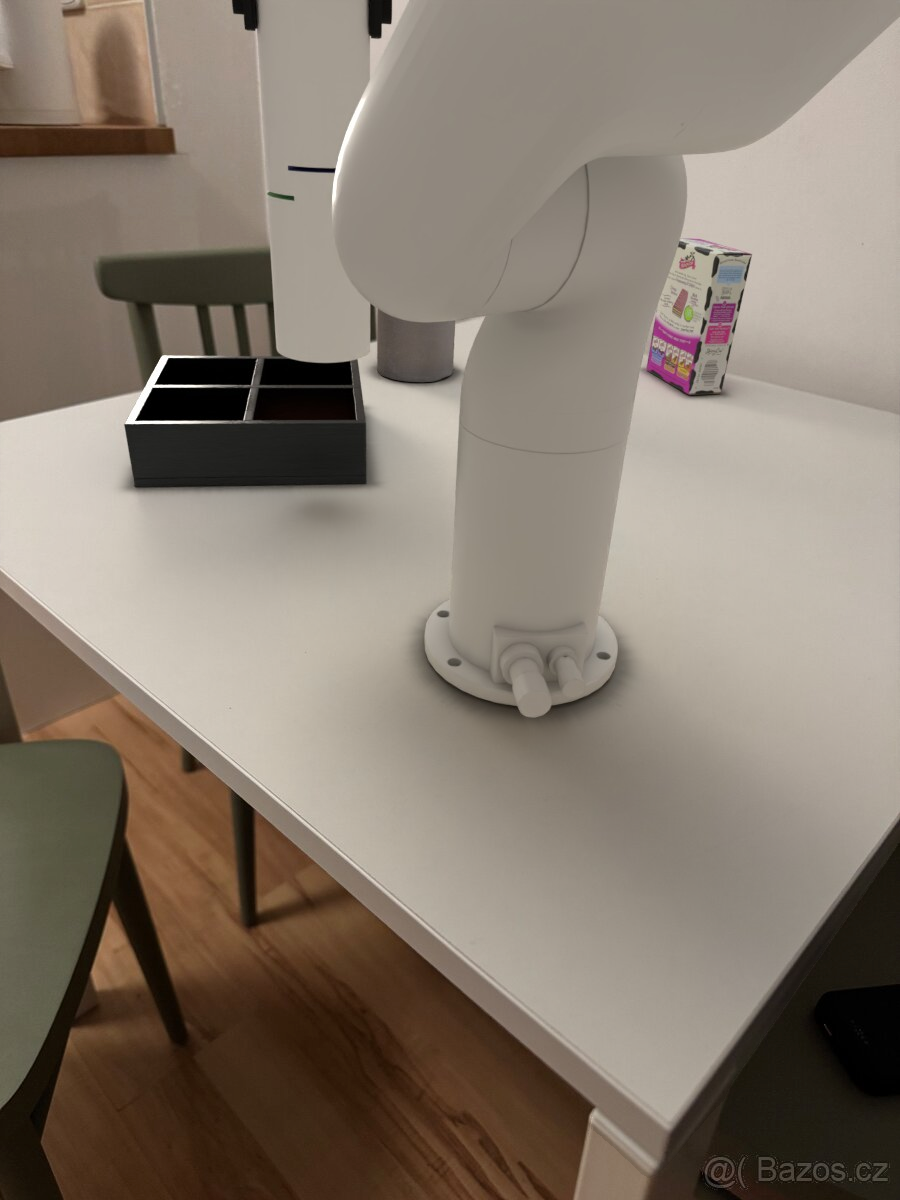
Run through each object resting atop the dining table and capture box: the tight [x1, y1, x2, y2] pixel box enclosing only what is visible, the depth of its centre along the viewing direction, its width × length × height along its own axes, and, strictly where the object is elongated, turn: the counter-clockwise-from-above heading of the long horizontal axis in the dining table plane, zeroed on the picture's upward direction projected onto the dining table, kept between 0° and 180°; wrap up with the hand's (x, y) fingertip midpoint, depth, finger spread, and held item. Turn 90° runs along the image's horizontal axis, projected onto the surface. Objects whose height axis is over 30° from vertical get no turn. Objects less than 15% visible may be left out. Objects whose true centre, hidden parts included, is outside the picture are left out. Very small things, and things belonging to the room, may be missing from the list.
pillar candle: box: [376, 308, 456, 383], centre depth 102 cm, size 10×10×15 cm
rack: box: [123, 355, 368, 488], centre depth 82 cm, size 20×20×6 cm
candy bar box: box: [645, 237, 753, 396], centre depth 103 cm, size 11×5×16 cm, turn 17°
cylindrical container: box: [255, 0, 371, 363], centre depth 58 cm, size 7×7×25 cm
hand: (313, 31), depth 54 cm, fingers closed on cylindrical container, 7 cm apart
